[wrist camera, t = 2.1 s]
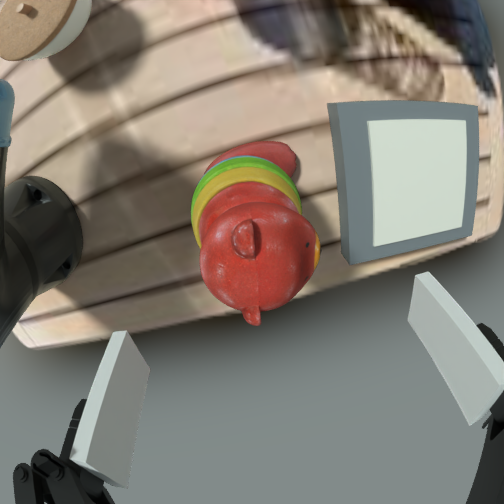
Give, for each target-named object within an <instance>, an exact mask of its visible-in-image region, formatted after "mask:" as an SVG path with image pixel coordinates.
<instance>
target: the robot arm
mask: <svg viewBox="0 0 504 504" xmlns="http://www.w3.org/2000/svg"><path fill="white" fill-rule="evenodd" d="M14 101H15V96H14V91H13V88H12V86H11V85H10V84H9V83H8V82H7V81H5V80H3V79H0V348H1V346H2V345H3V343H4V341H5V340H6V338H7V337H8V335H9V334H10V332H11V331H12V329H13V328H14V326H15V325H16V323H17V322H18V321H19V319H20V318H21V316H22V315H23V313H24V312H25V311H26V309H27V308H28V307H29V305H30V304H31V302H32V301H33V300H34V299H35V297H36V296H38V295H40V294H42V293H44V292H46V291H48V290H49V289H51V288H53V287H55V286H57V285H59V284H61V283H62V282H64V281H65V280H66V279H67V278H68V277H69V276H70V274H71V273H72V272H73V270H74V269H75V268H76V266H77V265H78V263H79V260H80V258H81V254H82V246H83V239H82V231H81V226H80V222H79V219H78V216H77V214H76V212H75V210H74V208H73V206H72V204H71V202H70V201H69V199H68V198H67V197H66V195H65V194H64V193H63V192H62V191H61V190H60V189H59V188H58V187H57V186H56V185H55V184H53V183H52V182H50V181H49V180H47V179H44V178H42V177H38V176H26V177H23V178H20V179H18V180H16V181H14V182H12V183H11V184H9V185H8V186H7V187H5V188H4V186H5V171H6V161H7V152H8V147H9V146H10V144H11V136H10V129H11V121H12V114H13V108H14ZM408 322H409V323H410V325H411V326H412V328H413V329H414V331H415V332H416V334H417V336H418V337H419V339H420V340H421V342H422V343H423V345H424V347H425V348H426V350H427V351H428V353H429V354H430V356H431V358H432V359H433V361H434V363H435V364H436V366H437V368H438V370H439V371H440V373H441V374H442V376H443V378H444V380H445V381H446V383H447V385H448V387H449V388H450V390H451V392H452V394H453V396H454V397H455V399H456V401H457V403H458V405H459V407H460V408H461V410H462V412H463V414H464V416H465V418H466V420H467V422H468V424H469V425H471V424H473V423H475V422H476V421H478V420H480V419H481V418H483V417H484V415H485V414H486V413H487V412H488V411H489V409H490V411H491V413H492V414H491V416H490V417H489V418H488V419H487V420H486V422H485V423H484V424H483V426H482V428H483V429H484V428H485V427H486V426H487V424H488V423H489V424H488V428H487V434H486V439H485V443H484V448H483V451H482V456H481V459H480V463H479V466H478V470H477V473H476V477H475V479H474V482H473V485H472V488H471V491H470V494H469V497H468V499H467V502H466V504H504V346H503V343H502V342H501V341H500V339H498V337H497V336H496V334H495V333H494V332H493V331H492V329H490V328H489V327H487V326H486V325H484V324H483V323H481V324H478V325H475V324H474V322H473V321H472V320H471V319H470V318H469V316H468V315H467V314H466V313H465V312H464V311H463V309H462V308H461V307H460V306H459V305H458V303H457V302H456V301H455V300H454V299H453V298H452V297H451V296H450V294H449V293H448V292H447V291H446V290H445V289H444V288H443V287H442V286H441V285H440V283H439V282H438V281H437V280H436V279H435V278H434V277H433V276H432V275H431V274H430V273H429V272H425V273H421V274H418V275H416V276H415V281H414V287H413V293H412V299H411V305H410V310H409V315H408ZM149 374H150V367H149V366H148V364H147V363H146V361H145V360H144V358H143V356H142V355H141V353H140V352H139V350H138V348H137V347H136V345H135V343H134V342H133V340H132V338H131V337H130V335H129V333H128V331H117V332H113V334H112V336H111V339H110V342H109V344H108V346H107V348H106V351H105V354H104V356H103V359H102V361H101V364H100V366H99V369H98V371H97V374H96V377H95V379H94V382H93V385H92V388H91V391H90V394H89V396H88V399H82V400H81V401H80V402H79V404H78V405H77V407H76V408H75V410H74V413H73V416H72V420H71V422H70V425H69V427H70V428H68V431H67V434H66V438H65V441H64V444H63V447H62V451H61V454H60V457H59V458H58V457H57V456H55V455H54V454H53V453H51V452H50V451H48V450H46V449H41V450H38V451H37V452H36V453H35V454H34V456H33V457H32V460H31V466H29V465H28V464H26V463H20V464H18V465H17V466H16V468H15V470H14V472H13V483H14V494H15V503H16V504H44V502H46V503H47V504H115V503H114V501H113V499H112V498H111V496H110V495H109V493H108V491H107V489H106V488H105V487H104V486H103V484H104V481H105V482H106V483H108V484H110V485H112V486H116V487H122V488H128V484H129V477H130V471H131V464H132V458H133V452H134V446H135V441H136V435H137V430H138V425H139V420H140V415H141V410H142V405H143V401H144V396H145V391H146V387H147V382H148V378H149Z"/></svg>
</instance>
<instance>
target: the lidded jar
mask: <svg viewBox="0 0 504 504" xmlns="http://www.w3.org/2000/svg"><path fill="white" fill-rule="evenodd" d="M91 8H92V0H7V2H6V3H5V5H4V6H3V8H2V10H1V12H0V57H2V58H3V59H5V60H8V61H20V60H28V61H29V60H37V59H42V58H46V57H49V56H52V55H54V54H56V53H58V52H60V51H61V50H63V49H64V48H66V47H67V46H68V45H70V44H71V43H72V42H73V41H74V40H75V39H76V38H77V37H78V36H79V34H80V33H81V32H82V30H83V29H84V27H85V25H86V23H87V21H88V19H89V16H90V12H91Z"/></svg>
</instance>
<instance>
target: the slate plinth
mask: <svg viewBox="0 0 504 504" xmlns="http://www.w3.org/2000/svg"><path fill="white" fill-rule="evenodd" d="M327 107H328V113H329V120H330V127H331V134H332V142H333V150H334V159H335V168H336V178H337V190H338V202H339V216H340V233H341V253H342V255H343V256H344V258H345V259H346V261H347V262H348V264H349V265H353V264H357V263H362V262H366V261H370V260H375V259H379V258H383V257H388V256H392V255H396V254H400V253H404V252H409V251H413V250H417V249H421V248H425V247H429V246H433V245H437V244H441V243H445V242H449V241H452V240H456V239H460V238H464V237H468V236H471V235H472V231H473V224H474V217H475V208H476V199H477V187H478V171H479V122H478V106H474V105H467V104H459V103H448V102H433V101H402V100H387V101H355V102H339V103H327Z"/></svg>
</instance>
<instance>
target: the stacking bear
mask: <svg viewBox="0 0 504 504" xmlns="http://www.w3.org/2000/svg"><path fill="white" fill-rule="evenodd" d="M295 160H296V154H295V153H294V152H293V151H291V150H290V147H289V146H288V145H287V144H285V143H282V142H275V141H260V142H252V143H247V144H244V145H241V146H238V147H235V148H233V149H231V150H229V151H227V152H225V153H224V154H222V155H221V156H219V157H218V158H216V159H215V160H214V161H213V162H212V163H211V164H210V165H209V167H208V168H207V170H206V172H205V173H204V176H203V177H202V178H201V180H200V181H199V183H198V185H197V187H196V189H195V191H194V194H193V198H192V203H191V222H192V227H193V231H194V235H195V238H196V241H197V244H198V246H199V248H200V249H201V250H200V270H201V275H202V278H203V280H204V282H205V284H206V286H207V288H208V289H209V291H210V292H211V293H212V294H213V295H214V296H215V297H216V298H217V299H218V300H220V301H221V302H222V303H224V304H226V305H227V306H230V307H232V308H234V309H237V310H241V311H242V314H243V317H244V319H245V320H246V321H247V322H248V323H249V324H252V325H255V326H259V325H260V324H261V316H260V311H267V310H272V309H275V308H278V307H280V306H282V305H284V304H285V303H287V302H288V301H290V300H291V299H292V298H293V297H294V296H295V295H296V294H297V293H298V292H299V291H300V290H301V289H302V288H303V286H304V285H305V284H306V283H307V281H308V280H309V279H310V277H311V276H312V274H313V272H314V270H315V268H316V266H317V264H318V262H319V259H320V254H321V245H320V241H319V238H318V235H317V233H316V231H315V230H314V228H313V226H312V225H311V224H310V222H309V221H307V220H306V219H305V218H304V217H303V216H302V206H301V201H300V197H299V193H298V191H297V188H296V186H295V184H294V183H293V181H292V180H291V176H292V175H293V173H294V171H295V169H296V165H297V164H296V162H295Z"/></svg>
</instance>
